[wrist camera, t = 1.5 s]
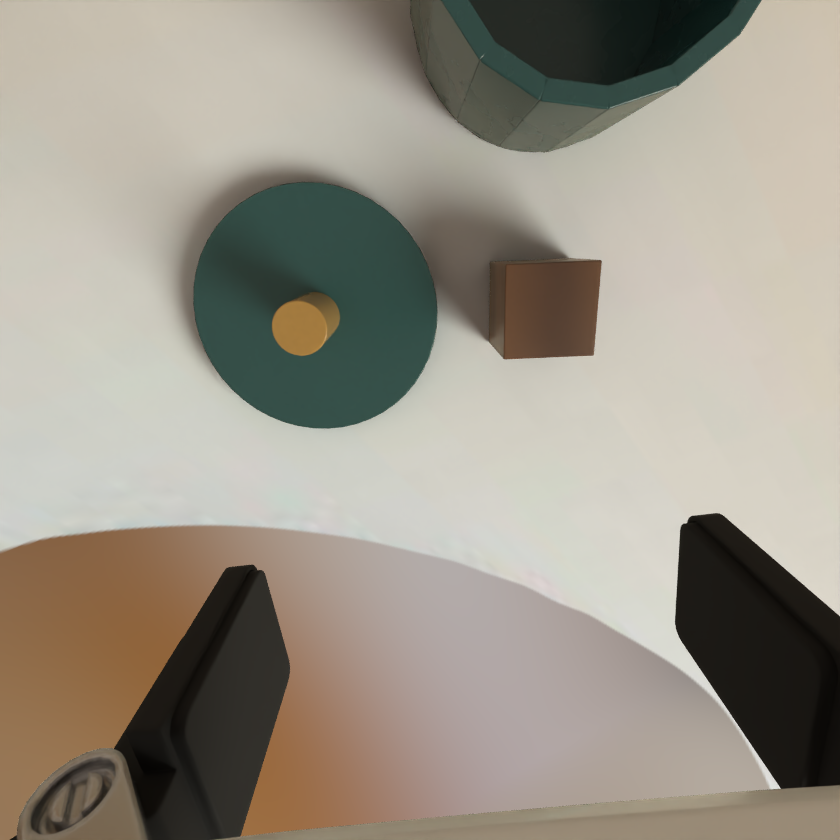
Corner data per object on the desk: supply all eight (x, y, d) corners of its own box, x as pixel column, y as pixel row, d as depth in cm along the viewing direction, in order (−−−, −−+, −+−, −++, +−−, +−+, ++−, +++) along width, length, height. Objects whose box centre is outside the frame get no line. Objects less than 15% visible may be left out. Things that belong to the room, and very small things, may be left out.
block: (488, 342, 31) (503, 359, 26) (489, 261, 29) (505, 263, 25) (565, 339, 31) (594, 355, 26) (571, 258, 30) (602, 260, 25)
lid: (206, 412, 32) (162, 449, 26) (194, 170, 27) (137, 149, 22) (423, 431, 33) (427, 470, 27) (449, 199, 28) (460, 186, 22)
